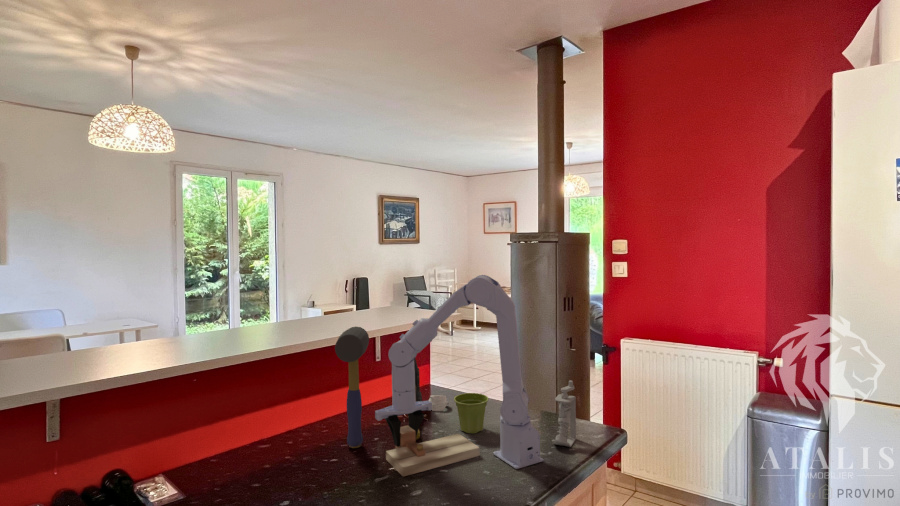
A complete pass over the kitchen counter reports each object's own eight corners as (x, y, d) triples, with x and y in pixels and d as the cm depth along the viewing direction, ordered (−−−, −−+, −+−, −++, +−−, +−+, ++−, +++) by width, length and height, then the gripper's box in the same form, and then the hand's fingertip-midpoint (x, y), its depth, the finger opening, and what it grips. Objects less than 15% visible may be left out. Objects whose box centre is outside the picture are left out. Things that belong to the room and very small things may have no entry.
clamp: (550, 449, 120) (549, 388, 119) (560, 435, 128) (559, 378, 128) (567, 452, 118) (566, 390, 117) (576, 437, 126) (575, 380, 126)
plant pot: (489, 436, 128) (489, 403, 128) (454, 436, 129) (453, 403, 128) (488, 423, 138) (487, 392, 138) (454, 423, 138) (454, 393, 138)
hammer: (403, 405, 124) (402, 353, 153) (404, 459, 128) (403, 399, 157) (426, 404, 125) (421, 353, 154) (426, 457, 129) (421, 398, 158)
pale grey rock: (422, 413, 149) (420, 398, 149) (427, 404, 156) (426, 390, 155) (447, 413, 147) (445, 398, 147) (452, 404, 154) (450, 389, 153)
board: (479, 455, 117) (479, 447, 117) (402, 476, 107) (402, 467, 107) (458, 441, 125) (458, 433, 125) (386, 459, 116) (385, 450, 116)
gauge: (428, 463, 113) (428, 440, 113) (414, 466, 112) (414, 444, 111) (408, 445, 123) (408, 425, 123) (395, 448, 121) (394, 428, 121)
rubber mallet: (366, 456, 117) (363, 332, 117) (335, 457, 117) (332, 333, 116) (372, 436, 130) (370, 324, 129) (344, 437, 129) (342, 325, 129)
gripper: (422, 380, 127) (424, 431, 128) (370, 389, 120) (371, 443, 121) (435, 387, 121) (436, 441, 122) (380, 397, 114) (381, 454, 114)
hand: (404, 443), depth 121 cm, fingers closed on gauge, 4 cm apart
